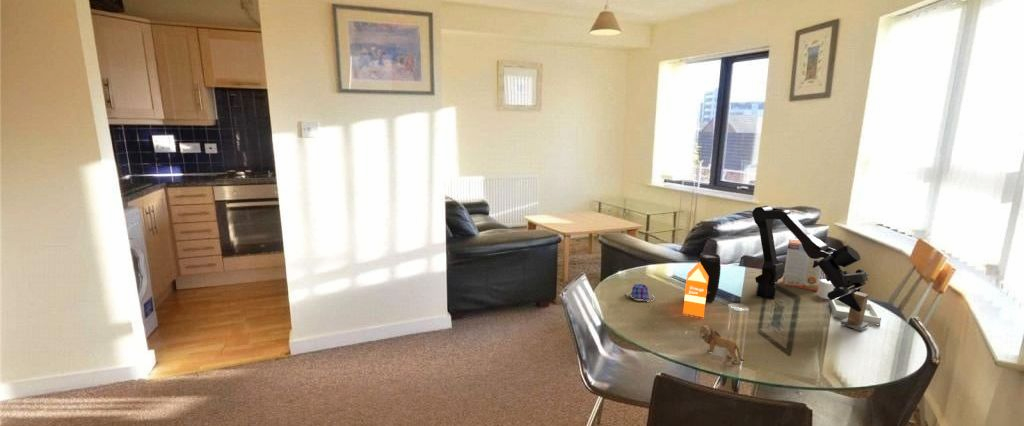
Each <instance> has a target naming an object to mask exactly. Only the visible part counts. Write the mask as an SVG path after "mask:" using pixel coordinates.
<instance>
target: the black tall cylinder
mask: <svg viewBox="0 0 1024 426" xmlns="http://www.w3.org/2000/svg"><path fill="white" fill-rule="evenodd" d="M698 257H699V258H698V261H697V264H698V263H699V262H700V263H701V265H702V266H703V268H704V270H705V271H706V273H707V275H708V276H709V278H708V284H707V294H706V301H709V302H710V301H711V302H710V303H713V302H712V301H714V302H715V299H716V297H717V293H718V289H719V286H720V285H719V284H720V277H721V270H722V269H721V257H720V255H719V254H717V253H715V252H711V253H705V252H701V253H700V254H699V256H698Z"/></svg>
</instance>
